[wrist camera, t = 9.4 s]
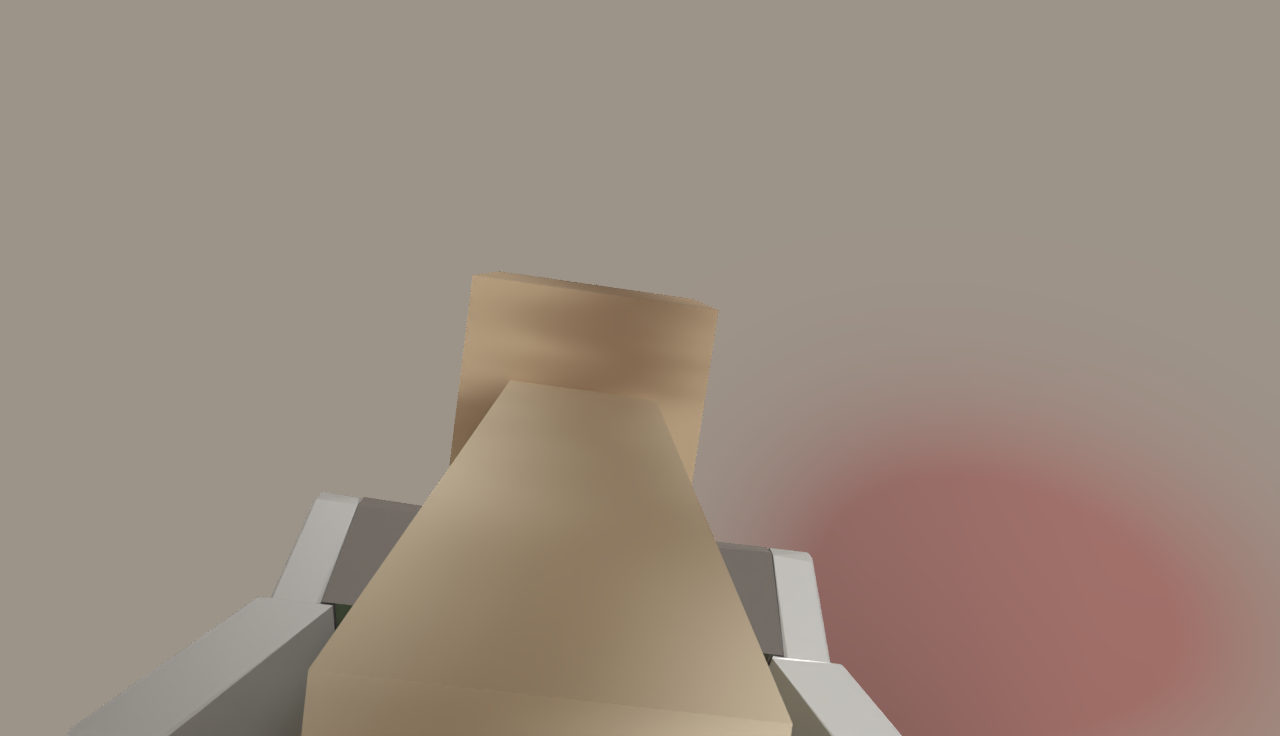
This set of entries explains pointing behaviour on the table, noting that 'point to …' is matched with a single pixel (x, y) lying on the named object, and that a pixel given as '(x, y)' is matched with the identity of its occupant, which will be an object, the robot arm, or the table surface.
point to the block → (558, 544)
